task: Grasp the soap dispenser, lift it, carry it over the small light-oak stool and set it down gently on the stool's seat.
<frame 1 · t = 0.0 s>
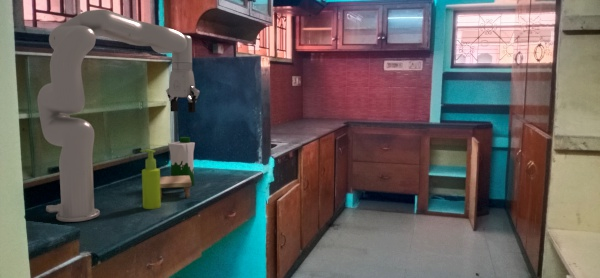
hand: (182, 111, 186), 31 cm above the worktop, tool pointing down, fingers open, 9 cm apart
soap dispenser: (150, 207, 165), on the worktop
stool: (173, 194, 182), on the worktop
milk carton: (182, 186, 197), on the worktop
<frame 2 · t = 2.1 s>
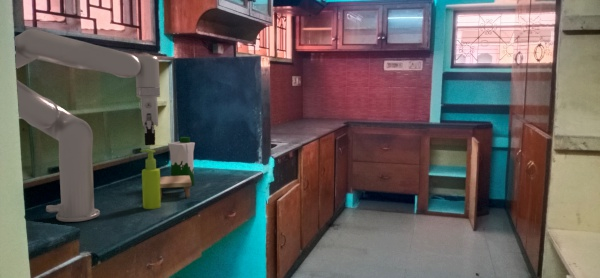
hand: (150, 142, 163), 22 cm above the worktop, tool pointing down, fingers open, 9 cm apart
nothing on the worktop moved.
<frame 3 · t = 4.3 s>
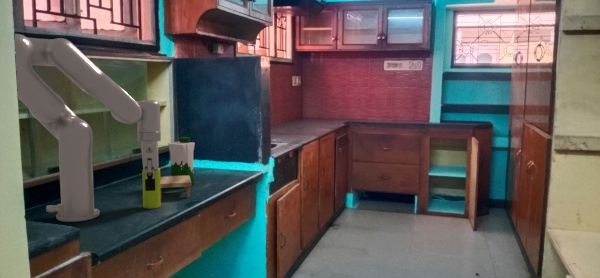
hand: (150, 187, 164), 7 cm above the worktop, tool pointing down, fingers closed on soap dispenser, 6 cm apart
soap dispenser: (150, 206, 165), on the worktop, touching gripper
everything else where it was.
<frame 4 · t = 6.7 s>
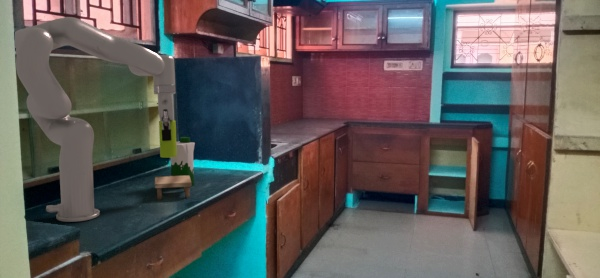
hand: (166, 138, 174), 22 cm above the worktop, tool pointing down, fingers closed on soap dispenser, 6 cm apart
soap dispenser: (167, 156, 175), point 16 cm above the worktop, touching gripper
everything else where it was.
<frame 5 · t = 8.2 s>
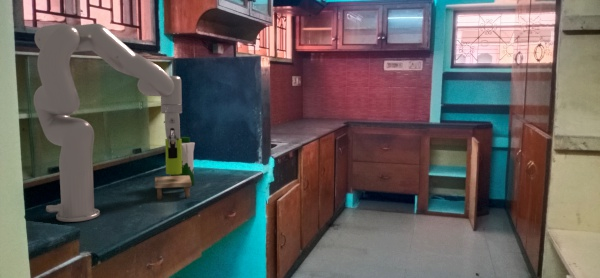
hand: (172, 156, 180), 15 cm above the worktop, tool pointing down, fingers closed on soap dispenser, 6 cm apart
soap dispenser: (172, 173, 181), point 8 cm above the worktop, touching gripper
everything else where it was.
when the fingers open (14 cm above the worktop, at t = 9.3 s): soap dispenser stays where it is, resting on stool.
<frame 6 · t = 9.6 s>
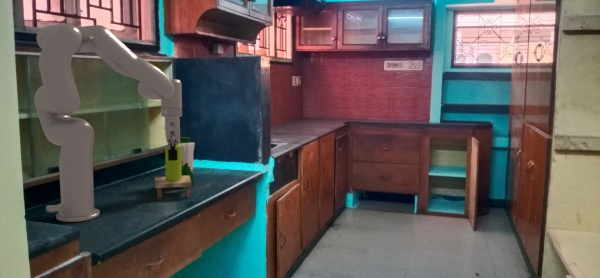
hand: (172, 158, 180), 14 cm above the worktop, tool pointing down, fingers open, 8 cm apart
soap dispenser: (172, 179, 181), point 6 cm above the worktop, touching stool
everything else where it was.
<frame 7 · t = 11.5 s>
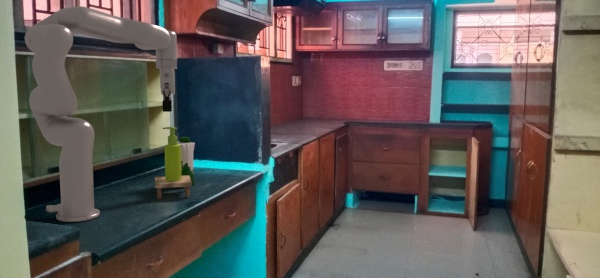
hand: (167, 110, 179), 32 cm above the worktop, tool pointing down, fingers open, 9 cm apart
nothing on the worktop moved.
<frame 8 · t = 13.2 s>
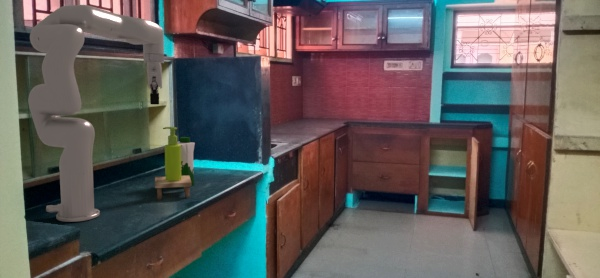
hand: (154, 103, 185), 34 cm above the worktop, tool pointing down, fingers open, 9 cm apart
nothing on the worktop moved.
at the end: soap dispenser inside the target area on the stool (0.4 cm from its centre), point 5.8 cm above the stool's base; soap dispenser tilted 1°; the gripper is holding nothing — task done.
